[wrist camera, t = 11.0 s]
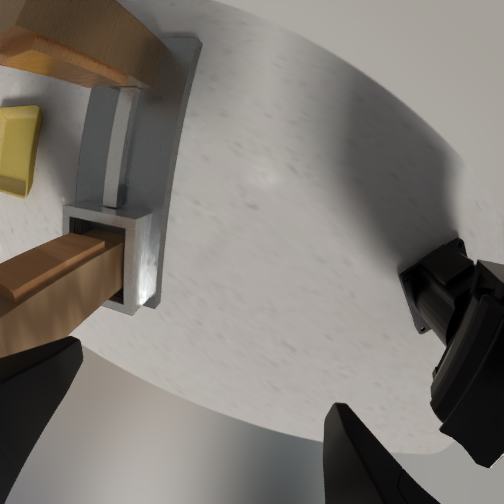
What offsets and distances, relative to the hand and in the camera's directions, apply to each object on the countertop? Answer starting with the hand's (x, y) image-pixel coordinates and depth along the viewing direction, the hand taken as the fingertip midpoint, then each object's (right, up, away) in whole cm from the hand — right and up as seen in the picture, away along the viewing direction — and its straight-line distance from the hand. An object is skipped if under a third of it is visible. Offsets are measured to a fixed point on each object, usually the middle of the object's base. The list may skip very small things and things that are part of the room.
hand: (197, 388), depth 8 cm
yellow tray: (-22, +15, +12) cm, 29 cm away
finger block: (-9, +4, +12) cm, 16 cm away
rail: (-8, +11, +11) cm, 17 cm away
